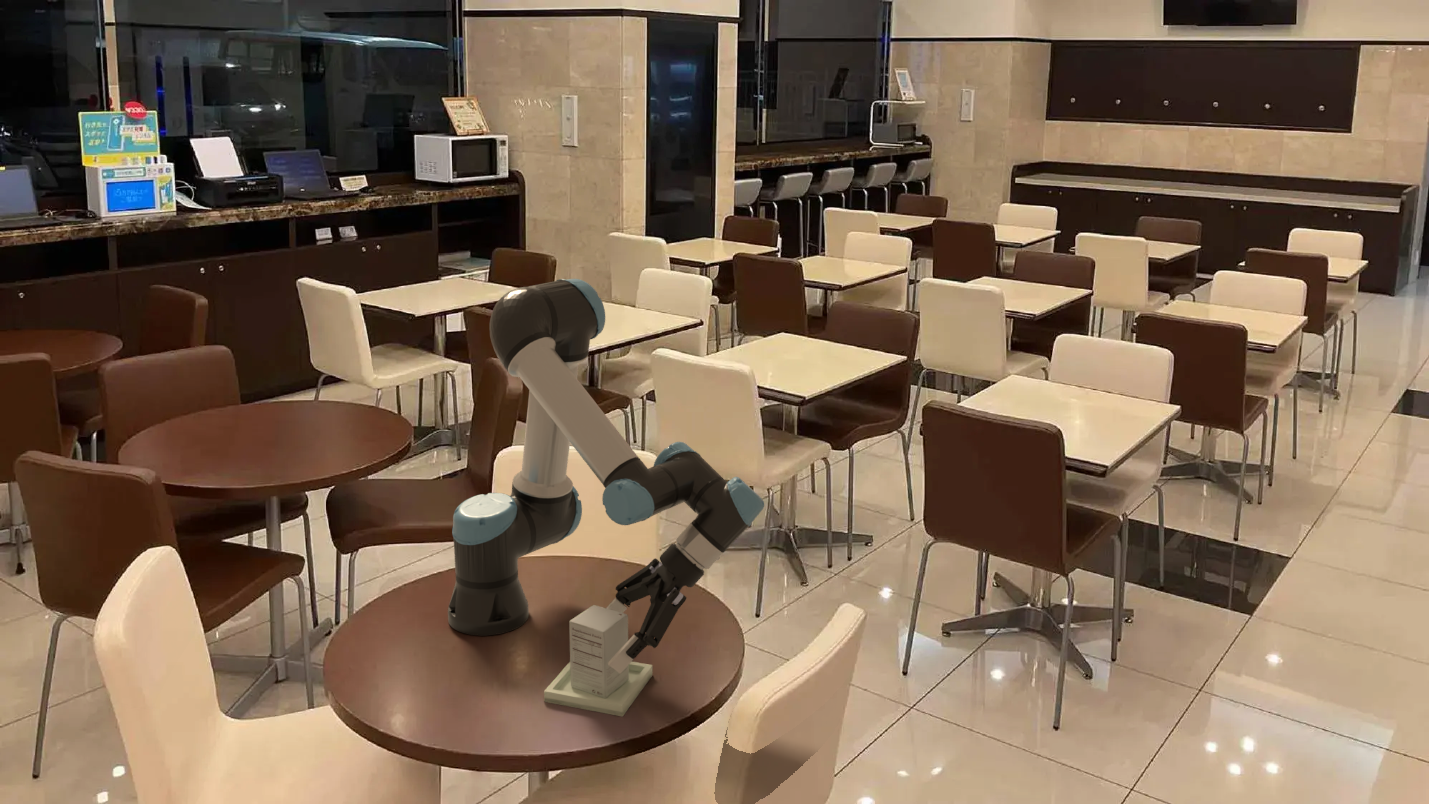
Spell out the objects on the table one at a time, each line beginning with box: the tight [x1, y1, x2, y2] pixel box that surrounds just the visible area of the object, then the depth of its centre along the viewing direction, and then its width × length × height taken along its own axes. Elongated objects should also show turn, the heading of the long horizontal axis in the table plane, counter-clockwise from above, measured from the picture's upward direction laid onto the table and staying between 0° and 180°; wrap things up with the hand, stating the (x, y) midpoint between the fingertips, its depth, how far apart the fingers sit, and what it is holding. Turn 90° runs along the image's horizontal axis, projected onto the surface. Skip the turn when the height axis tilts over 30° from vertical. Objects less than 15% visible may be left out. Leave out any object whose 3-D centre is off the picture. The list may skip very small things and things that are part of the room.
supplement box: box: [568, 604, 629, 698], centre depth 199 cm, size 7×7×13 cm
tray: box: [543, 661, 653, 717], centre depth 201 cm, size 14×14×2 cm
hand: (604, 648), depth 199 cm, fingers open, 13 cm apart
